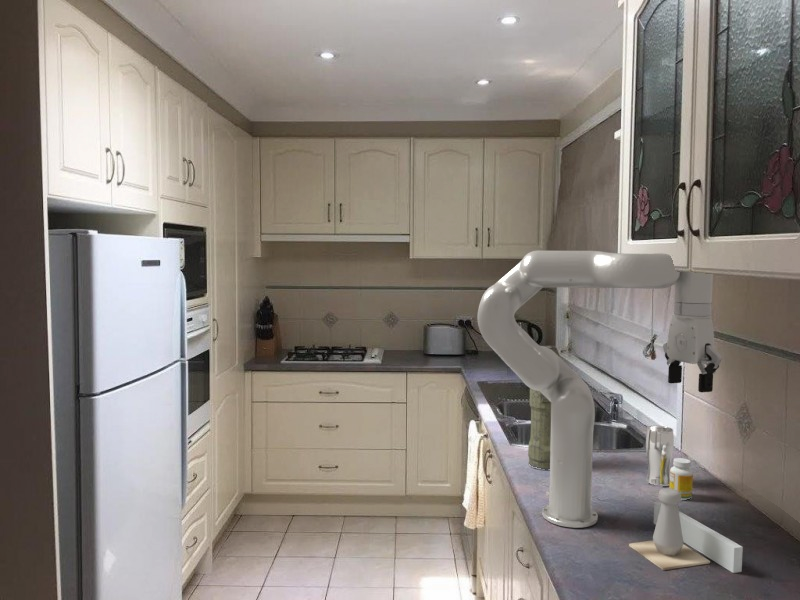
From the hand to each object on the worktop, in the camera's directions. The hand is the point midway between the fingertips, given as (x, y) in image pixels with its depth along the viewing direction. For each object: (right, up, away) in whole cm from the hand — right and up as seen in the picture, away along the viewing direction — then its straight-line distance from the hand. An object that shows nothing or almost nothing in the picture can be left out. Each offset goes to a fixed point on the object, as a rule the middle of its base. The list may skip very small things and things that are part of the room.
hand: (689, 387), depth 145 cm
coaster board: (-9, -33, -10) cm, 36 cm away
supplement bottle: (+7, -31, +21) cm, 38 cm away
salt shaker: (-9, -33, -10) cm, 36 cm away
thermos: (-22, -29, +45) cm, 58 cm away
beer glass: (+5, -30, +31) cm, 44 cm away
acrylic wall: (-2, -33, -6) cm, 34 cm away
